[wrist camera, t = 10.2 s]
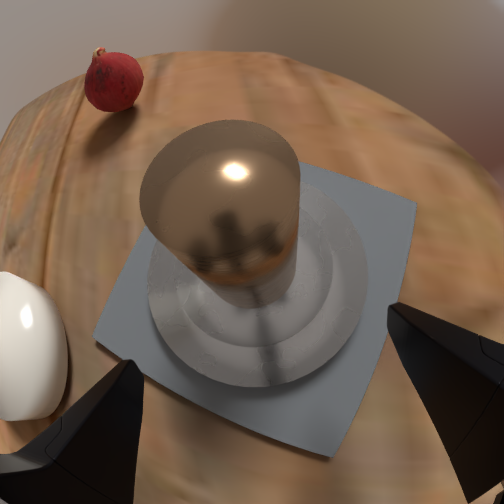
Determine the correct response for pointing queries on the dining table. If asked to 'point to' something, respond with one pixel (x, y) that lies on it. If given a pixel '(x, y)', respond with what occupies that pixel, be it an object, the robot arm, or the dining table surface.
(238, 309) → the cylinder on round base
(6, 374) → the white rounded piece
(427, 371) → the robot arm
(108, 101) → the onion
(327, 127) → the dining table surface
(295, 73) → the dining table surface
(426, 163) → the dining table surface
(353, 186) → the mat
